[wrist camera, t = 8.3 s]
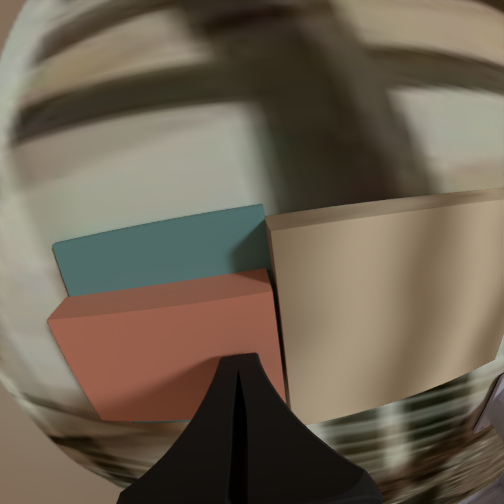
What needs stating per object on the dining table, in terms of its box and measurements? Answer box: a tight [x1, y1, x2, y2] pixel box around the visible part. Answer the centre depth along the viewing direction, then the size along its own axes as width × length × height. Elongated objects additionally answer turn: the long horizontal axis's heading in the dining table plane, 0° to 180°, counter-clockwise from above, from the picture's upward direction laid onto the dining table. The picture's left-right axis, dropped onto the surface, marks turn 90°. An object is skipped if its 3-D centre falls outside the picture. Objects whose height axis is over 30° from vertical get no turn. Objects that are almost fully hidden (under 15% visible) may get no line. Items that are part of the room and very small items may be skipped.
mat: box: [52, 204, 288, 423], centre depth 13 cm, size 9×11×1 cm
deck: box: [265, 188, 504, 425], centre depth 13 cm, size 13×10×2 cm
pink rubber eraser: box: [47, 268, 286, 421], centre depth 12 cm, size 9×6×2 cm, turn 98°
